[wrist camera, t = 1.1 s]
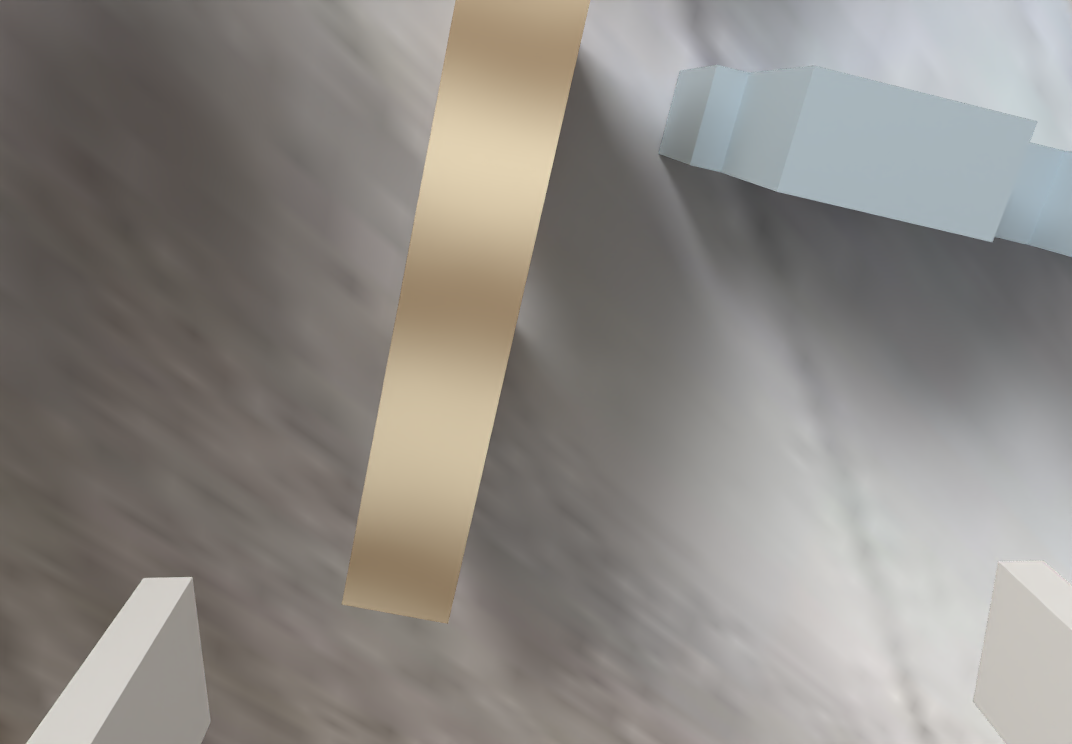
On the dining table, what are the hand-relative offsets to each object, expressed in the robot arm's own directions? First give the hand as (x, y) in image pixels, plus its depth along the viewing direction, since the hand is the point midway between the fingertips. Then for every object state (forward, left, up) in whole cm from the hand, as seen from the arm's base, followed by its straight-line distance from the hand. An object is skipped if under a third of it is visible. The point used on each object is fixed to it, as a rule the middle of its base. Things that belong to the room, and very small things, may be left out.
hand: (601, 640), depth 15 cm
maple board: (-3, +3, -21) cm, 22 cm away
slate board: (+12, +9, -21) cm, 26 cm away
